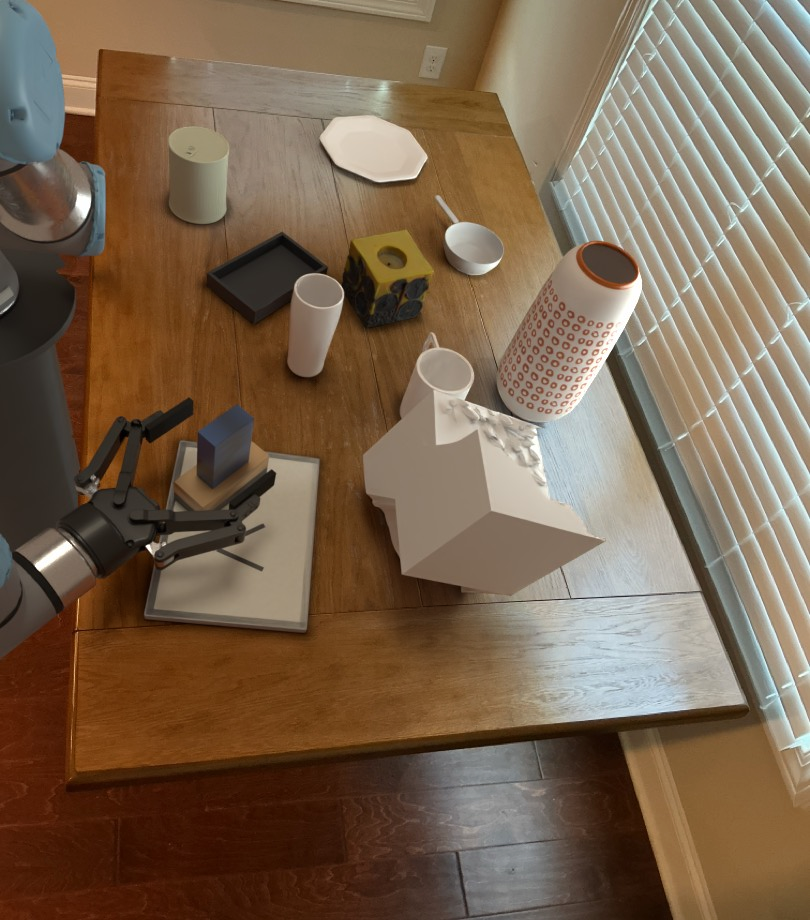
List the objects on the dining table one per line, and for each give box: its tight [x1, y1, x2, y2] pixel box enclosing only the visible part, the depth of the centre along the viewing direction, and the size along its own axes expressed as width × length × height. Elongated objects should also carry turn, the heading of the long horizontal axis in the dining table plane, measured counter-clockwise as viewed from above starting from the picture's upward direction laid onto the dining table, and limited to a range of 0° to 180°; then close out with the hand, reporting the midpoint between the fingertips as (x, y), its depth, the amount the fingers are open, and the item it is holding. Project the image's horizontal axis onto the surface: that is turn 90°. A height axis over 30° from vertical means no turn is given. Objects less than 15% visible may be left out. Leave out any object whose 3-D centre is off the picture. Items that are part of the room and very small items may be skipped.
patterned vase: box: [496, 240, 643, 423], centre depth 106 cm, size 13×13×28 cm
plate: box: [318, 114, 428, 184], centre depth 144 cm, size 20×20×2 cm
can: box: [167, 125, 230, 225], centre depth 119 cm, size 9×9×12 cm
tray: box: [205, 231, 329, 325], centre depth 117 cm, size 16×10×3 cm, turn 141°
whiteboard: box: [143, 439, 321, 634], centre depth 92 cm, size 18×24×1 cm
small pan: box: [433, 195, 505, 276], centre depth 133 cm, size 11×18×4 cm, turn 32°
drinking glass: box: [286, 273, 345, 378], centre depth 105 cm, size 7×7×15 cm
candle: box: [340, 229, 435, 328], centre depth 118 cm, size 10×10×10 cm
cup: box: [399, 331, 475, 419], centre depth 108 cm, size 8×12×10 cm
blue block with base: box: [174, 403, 269, 511], centre depth 90 cm, size 11×5×13 cm, turn 141°
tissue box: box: [362, 390, 607, 597], centre depth 90 cm, size 20×16×25 cm
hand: (231, 440), depth 88 cm, fingers open, 13 cm apart
